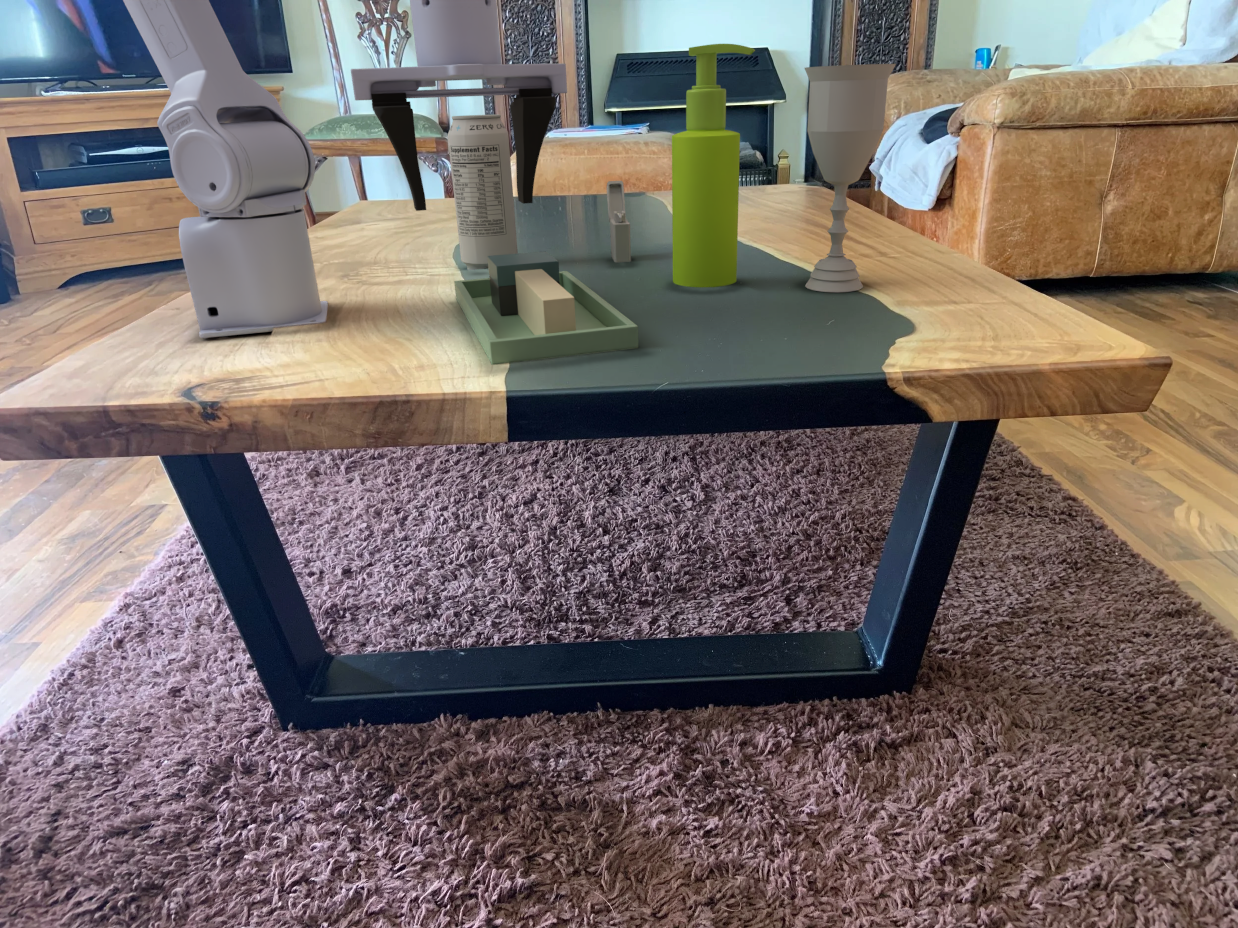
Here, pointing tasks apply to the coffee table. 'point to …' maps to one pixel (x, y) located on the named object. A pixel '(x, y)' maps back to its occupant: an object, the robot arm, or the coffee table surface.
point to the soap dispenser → (706, 180)
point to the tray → (517, 342)
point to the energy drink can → (482, 188)
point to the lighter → (618, 222)
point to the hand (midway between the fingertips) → (473, 205)
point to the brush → (531, 291)
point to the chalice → (843, 150)
